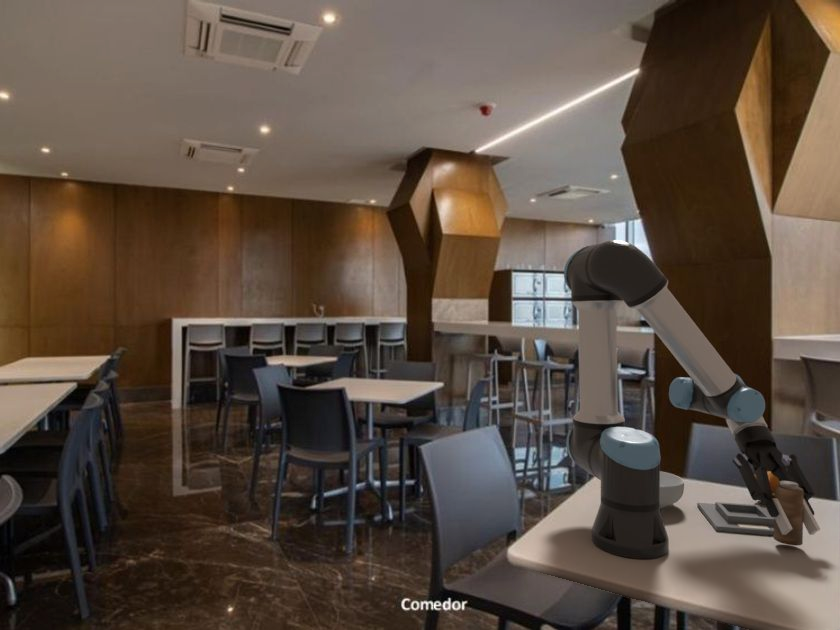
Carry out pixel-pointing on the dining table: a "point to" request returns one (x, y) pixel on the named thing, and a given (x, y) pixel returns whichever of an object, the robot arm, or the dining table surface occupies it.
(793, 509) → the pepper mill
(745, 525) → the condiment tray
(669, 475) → the cereal bowl
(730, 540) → the dining table surface
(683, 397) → the robot arm
